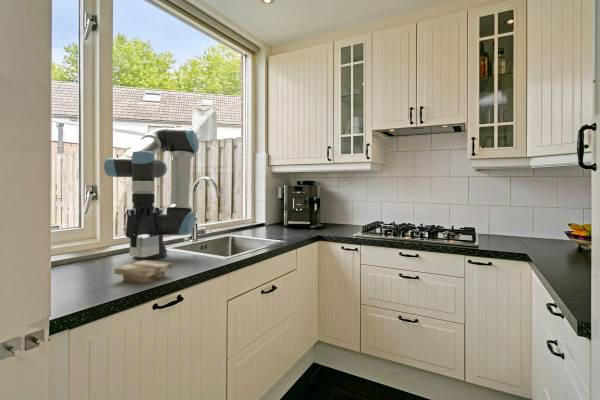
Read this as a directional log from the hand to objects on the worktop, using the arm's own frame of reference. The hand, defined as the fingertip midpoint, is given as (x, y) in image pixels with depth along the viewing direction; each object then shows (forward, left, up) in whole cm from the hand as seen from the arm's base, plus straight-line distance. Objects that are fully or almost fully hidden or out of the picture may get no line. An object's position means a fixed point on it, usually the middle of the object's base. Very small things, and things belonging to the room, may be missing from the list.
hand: (144, 253), depth 123 cm
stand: (0, 0, -10) cm, 10 cm away
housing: (0, 0, 0) cm, 0 cm away
